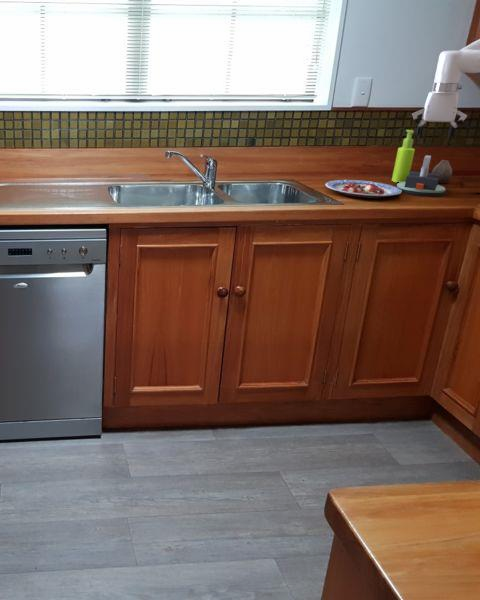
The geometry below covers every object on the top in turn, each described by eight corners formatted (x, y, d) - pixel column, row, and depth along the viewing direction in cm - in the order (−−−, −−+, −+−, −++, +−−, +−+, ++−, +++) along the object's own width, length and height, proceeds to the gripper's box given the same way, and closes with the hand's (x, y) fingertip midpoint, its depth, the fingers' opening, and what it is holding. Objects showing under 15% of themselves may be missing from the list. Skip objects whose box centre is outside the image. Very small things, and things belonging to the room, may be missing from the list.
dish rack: (399, 181, 237) (406, 151, 233) (446, 187, 230) (454, 155, 225) (394, 189, 225) (401, 157, 220) (443, 194, 217) (451, 162, 213)
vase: (430, 183, 242) (436, 161, 238) (428, 180, 248) (434, 158, 244) (450, 185, 239) (456, 162, 236) (448, 181, 245) (453, 159, 242)
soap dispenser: (406, 180, 247) (417, 129, 239) (408, 183, 241) (420, 131, 233) (390, 179, 249) (400, 128, 241) (392, 182, 243) (403, 131, 235)
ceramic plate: (324, 183, 239) (325, 175, 238) (396, 188, 231) (397, 181, 230) (325, 197, 217) (326, 189, 216) (404, 204, 209) (406, 195, 208)
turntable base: (441, 189, 232) (442, 186, 232) (449, 198, 218) (449, 195, 217) (392, 185, 238) (393, 182, 237) (396, 194, 223) (397, 191, 223)
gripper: (470, 88, 214) (459, 137, 221) (416, 87, 220) (406, 135, 226) (475, 89, 208) (463, 140, 214) (418, 88, 213) (408, 138, 220)
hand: (434, 138), depth 220 cm, fingers open, 9 cm apart
